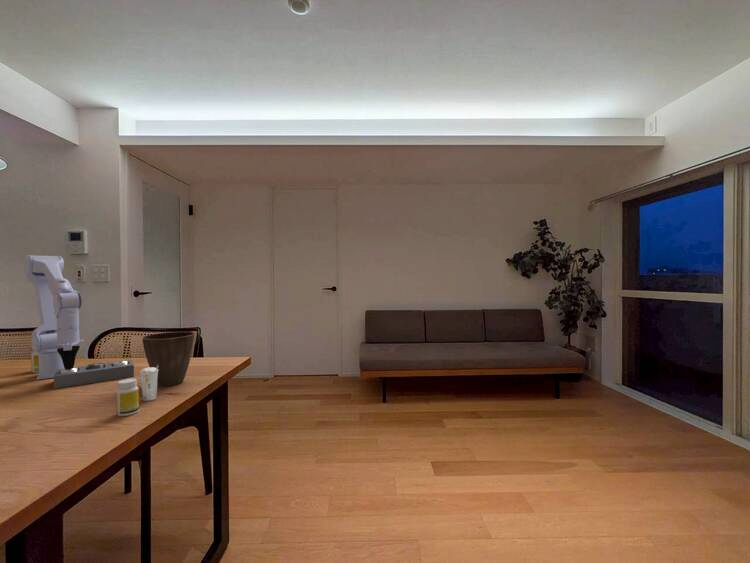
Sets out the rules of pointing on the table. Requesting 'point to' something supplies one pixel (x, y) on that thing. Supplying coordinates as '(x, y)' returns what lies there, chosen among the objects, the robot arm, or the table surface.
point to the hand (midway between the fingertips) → (69, 368)
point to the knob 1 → (69, 370)
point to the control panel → (93, 374)
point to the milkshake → (149, 383)
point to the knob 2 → (120, 362)
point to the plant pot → (169, 355)
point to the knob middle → (95, 366)
